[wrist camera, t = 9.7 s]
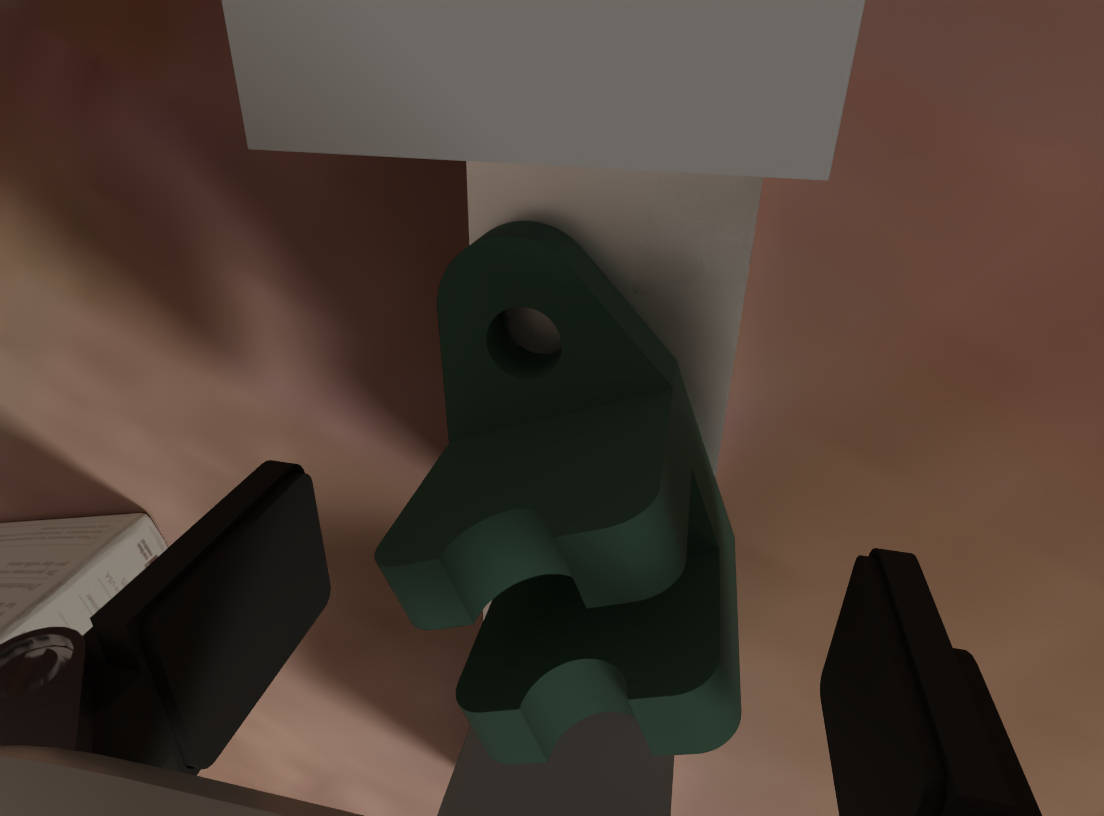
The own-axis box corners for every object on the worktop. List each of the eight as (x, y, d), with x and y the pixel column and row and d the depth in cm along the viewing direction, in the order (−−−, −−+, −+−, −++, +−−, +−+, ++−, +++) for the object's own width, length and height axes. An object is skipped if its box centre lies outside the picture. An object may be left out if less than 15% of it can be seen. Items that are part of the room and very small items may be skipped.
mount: (772, 654, 15) (795, 891, 11) (590, 673, 17) (547, 888, 12) (618, 181, 11) (558, 258, 7) (398, 262, 13) (237, 367, 9)
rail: (853, -416, 8) (864, -458, 8) (656, 830, 20) (654, 858, 20) (465, -379, 9) (444, -414, 8) (498, 794, 21) (490, 819, 21)
